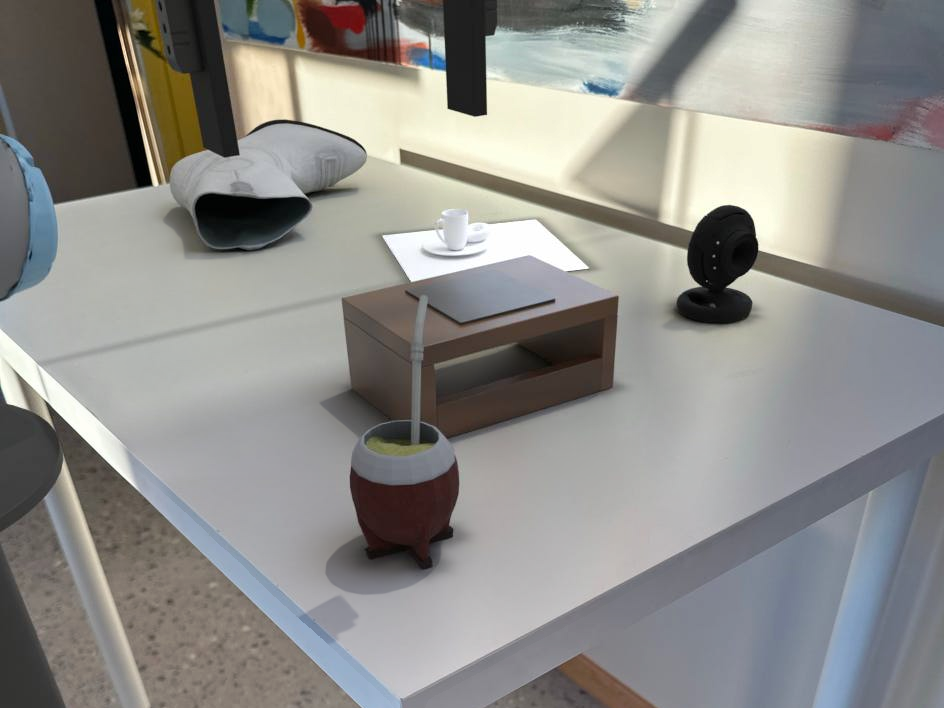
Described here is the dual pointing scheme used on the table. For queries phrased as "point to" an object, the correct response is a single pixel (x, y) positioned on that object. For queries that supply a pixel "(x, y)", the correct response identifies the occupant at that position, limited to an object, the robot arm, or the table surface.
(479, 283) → the shelf
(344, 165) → the cowboy boot
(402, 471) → the mate gourd
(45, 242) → the robot arm
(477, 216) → the table surface
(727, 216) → the webcam
